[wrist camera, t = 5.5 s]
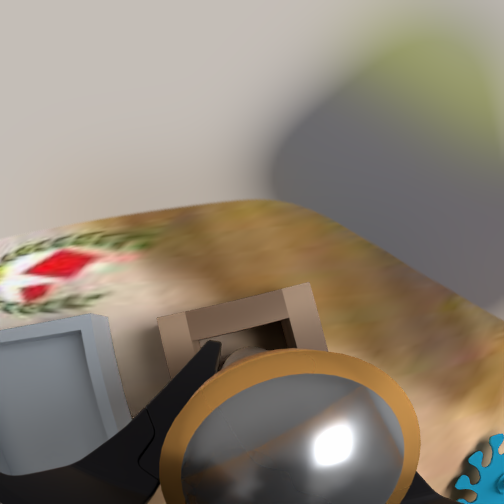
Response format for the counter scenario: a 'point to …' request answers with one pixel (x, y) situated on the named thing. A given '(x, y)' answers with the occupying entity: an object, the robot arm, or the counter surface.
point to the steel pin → (292, 433)
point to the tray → (58, 393)
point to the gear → (486, 476)
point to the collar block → (243, 323)
